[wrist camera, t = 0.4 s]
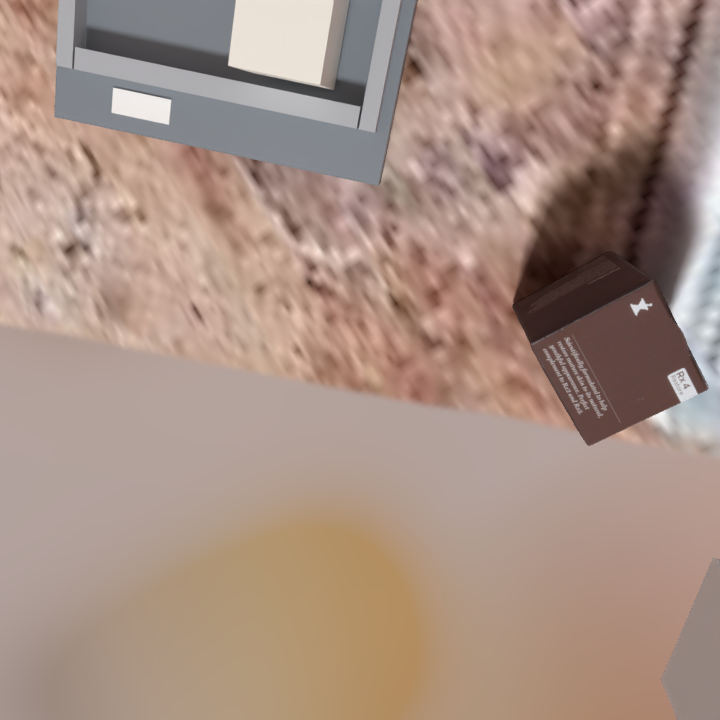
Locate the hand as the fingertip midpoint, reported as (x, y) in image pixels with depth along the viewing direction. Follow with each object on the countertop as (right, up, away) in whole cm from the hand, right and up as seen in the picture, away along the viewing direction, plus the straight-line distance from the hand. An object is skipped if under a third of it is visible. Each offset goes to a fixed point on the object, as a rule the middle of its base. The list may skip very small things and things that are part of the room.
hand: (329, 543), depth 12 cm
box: (+13, +5, +25) cm, 29 cm away
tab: (-2, +19, +20) cm, 28 cm away
